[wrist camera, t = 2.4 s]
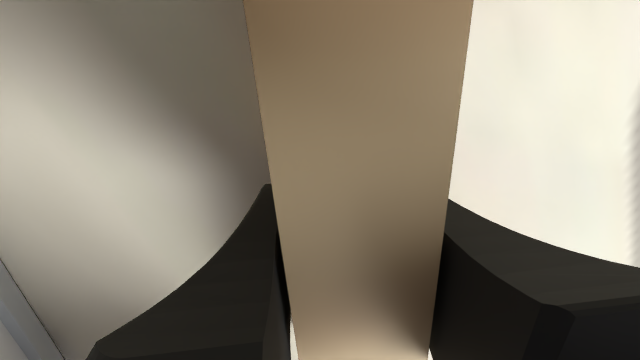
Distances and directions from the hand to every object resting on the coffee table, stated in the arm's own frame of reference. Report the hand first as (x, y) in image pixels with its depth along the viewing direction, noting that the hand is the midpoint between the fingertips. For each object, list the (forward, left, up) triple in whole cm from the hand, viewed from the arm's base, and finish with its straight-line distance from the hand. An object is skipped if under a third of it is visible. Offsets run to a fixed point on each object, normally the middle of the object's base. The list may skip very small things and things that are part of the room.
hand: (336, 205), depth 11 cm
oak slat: (0, 0, -2) cm, 2 cm away
